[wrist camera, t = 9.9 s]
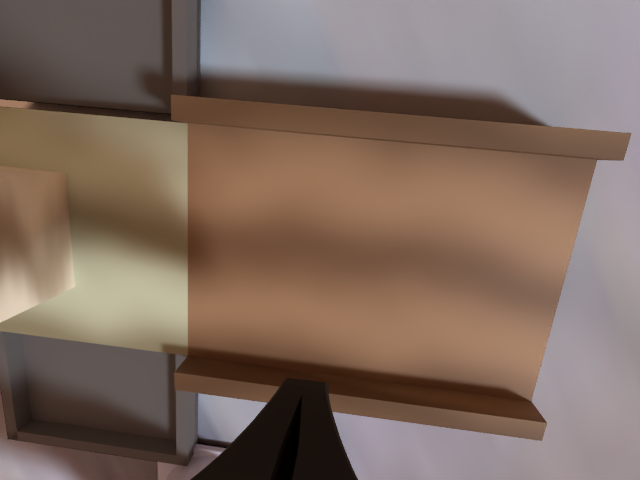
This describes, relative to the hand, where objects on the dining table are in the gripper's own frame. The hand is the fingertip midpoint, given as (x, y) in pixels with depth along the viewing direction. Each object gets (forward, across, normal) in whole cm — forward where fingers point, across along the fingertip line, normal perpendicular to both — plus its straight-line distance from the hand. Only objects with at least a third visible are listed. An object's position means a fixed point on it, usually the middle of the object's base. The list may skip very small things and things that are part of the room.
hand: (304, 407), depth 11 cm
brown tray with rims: (+9, +5, -3) cm, 11 cm away
